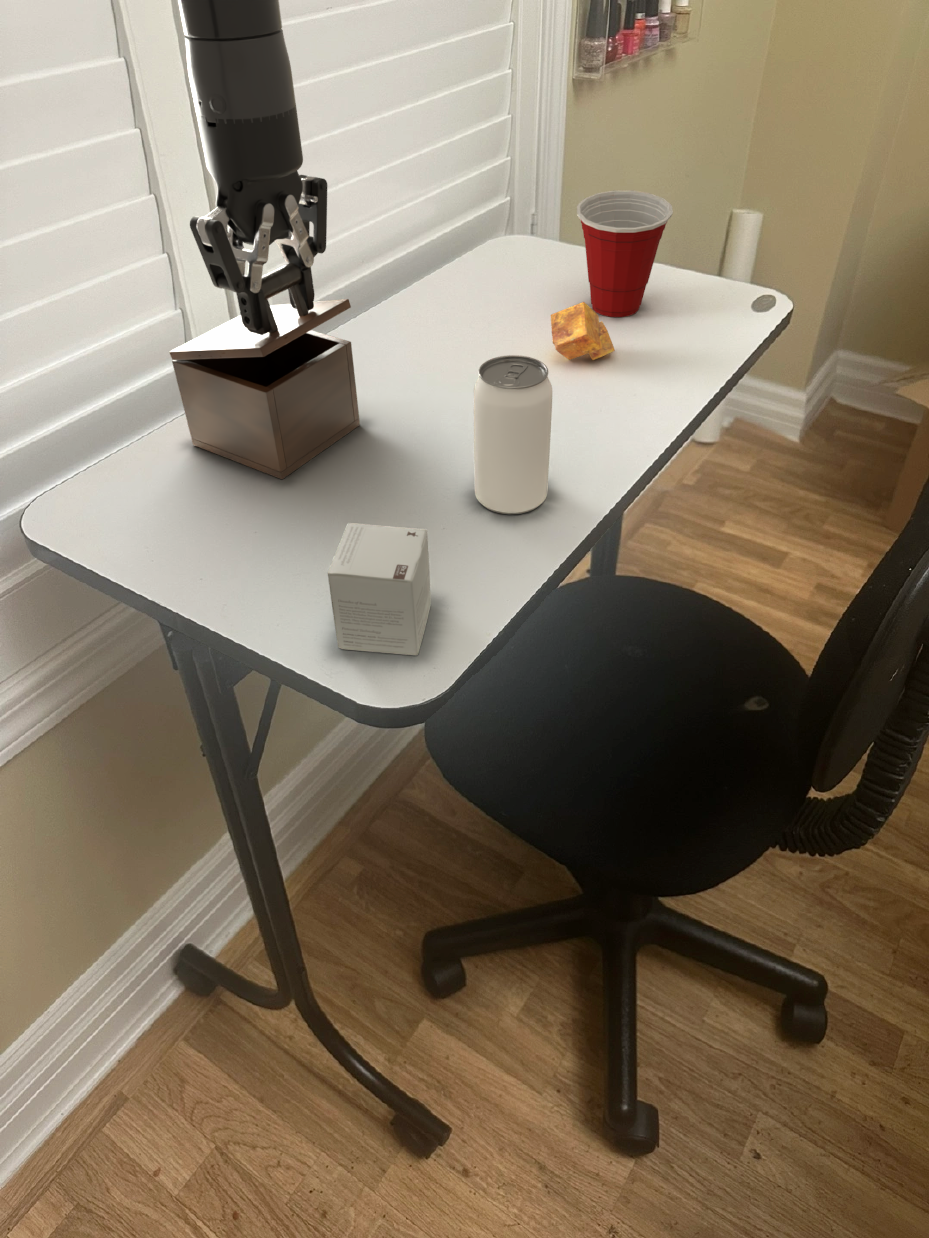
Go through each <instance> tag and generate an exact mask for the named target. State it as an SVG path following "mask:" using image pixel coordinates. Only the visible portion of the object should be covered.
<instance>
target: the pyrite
mask: <svg viewBox="0 0 929 1238" xmlns="http://www.w3.org/2000/svg"><path fill="white" fill-rule="evenodd" d="M550 326H551V336H552V337H551V338H552V339H551V340H552V344H553V346H554V349H555V351H557V352H558V353H559V354H560V355H562V356H563V357H564V358H565V359H567V360H568V361H570V360H573V359H577V358H579V357H582V356H585V355H589V357H590V359H591V361H595V360H597V359H600V358H602V357H603V356H604V357H605V356H606V355H609V354H611V353H613V352H615V351H616V349H615V346H614V343H613V342H612V339H611V336H610V333H609V331H608V328H607V327H606V325H605V323H604V322H603V320H601V321H600V317H599V315H598V313H596V312H595V311H594V310H593V309H592V307H590V306H589V305H588V304H587V303H586V302H585V301H582V302H580V303H577V304H574V305H572V306H569V307H566V308H564V309H562V310H559V311H556V312H554V313H552V314H550Z"/></svg>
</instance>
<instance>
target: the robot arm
mask: <svg viewBox="0 0 929 1238" xmlns="http://www.w3.org/2000/svg"><path fill="white" fill-rule="evenodd" d="M177 3H178V9H179V14H180V19H181V24H182V30H183V34H184V41H185V51H186V63H187V64H186V65H187V74H188V79H189V84H190V89H191V94H192V98H193V99H192V100H193V105H194V111H195V115H196V120H197V125H198V131H199V135H200V141H201V145H202V150H203V155H204V161H205V166H206V169H207V171H208V173H209V174H210V175H211V177H212V179H213V180H214V182H215V184H216V199H215V208H214V209H213V210H211V211H210V212H208V213H207V214H206V215H204V216H198V215H194V216H192V217H191V218H190V221H189V228H190V230H191V233H192V236H193V238H194V240H195V243H196V246H197V247H198V250H199V252H200V256H201V258H202V260H203V263H204V266H205V267H206V270H207V272H208V275H209V278H210V280H211V282H212V285H213V286H214V287H215V288H218V289H221V290H222V289H223V290H227V291H230V292H233V293H235V294H236V297H237V303H238V309H239V313H240V315H241V319H242V323H243V325H244V327H245V328H247V329H248V331H250V332H252V333H256V334H259V335H264V334H266V333H268V332H270V324H269V318H268V313H267V307H266V301H265V295H264V291H263V290H260V289H261V283H262V276H263V269H264V265H265V264H267V263H268V261H269V252H270V245H272V244H273V243H275V244H276V245H277V247H278V250H279V252H280V253H281V256H282V258H283V259H284V262H285V263H286V264H289V263H294V264H295V265H297V266H298V267H299V269H300V271H301V274H302V280H301V282H300V283H299V285H300V288H301V291H302V294H303V297H304V300H305V303H306V306H307V309H308V311H309V310H311V309H313V307H314V303H313V302H315V296H316V295H315V289H314V288H315V286H314V281H313V280H314V279H313V272H312V266H313V264H314V262H315V257H316V256H317V255H318V254H324V253H325V252H326V249H327V235H328V234H327V229H328V228H327V227H328V182H327V180H326V179H325V178H322V177H317V176H312V175H306V174H299V171H298V170H300V168H301V167H302V166H303V163H304V155H303V147H302V140H301V131H300V124H299V117H298V109H297V101H296V95H295V87H294V78H293V71H292V66H291V61H290V56H289V53H288V48H287V44H286V41H285V34H284V30H283V29H282V28H283V23H282V13H281V7H280V0H177ZM311 223H312V225H313V226H312V229H313V230H312V232H313V233H312V235H313V236H311V235H310V231H311V229H310V226H311V225H310V224H311ZM244 244H246V245H249V246H253V248H252V250H250V249H246V248H245V247H244ZM246 263H247V274H245V273H246ZM287 290H288V297H289V304H291V306H292V307H293V308H294V309H296V306H295V303H294V300H293V297H292V294H291V291H290V288H289V289H287Z"/></svg>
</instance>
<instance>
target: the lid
mask: <svg viewBox="0 0 929 1238" xmlns="http://www.w3.org/2000/svg"><path fill="white" fill-rule="evenodd" d="M301 280H302V274H301V271H300V269H299V267H298V266H297V265H295V264H294V263H286V264H284V265H282V266H280V267H278V268H277V269H274V270H272V271H269V272H268V273H265V274H263V275H262V283H261V289H260V290H263V291H264V295H265V301H266V307H267V313H268V318H269V324H270V332H268V333H266V334H264V335H259V334H256V333H252V332H250V331H248V329H247V328H245V327H244V325H243V323H242V319H241V314H240V315H238V316H236V317H234V318H232V319H230V320H228V321H226V322H224V323H222V324H220V325H218V326H216V327H214V328H212V329H211V330H209V331H207V332H205V333H203V334H201V335H199V336H197V337H194V338H193V339H191V340H189V341H187V342H185V343H183V344H182V345H179V346H177V347H175V348H173V349H171V350H170V351H169V352H168V353H169V355H170V358H171V360H172V361H173V360H188V359H216V358H243V357H264V356H266V355H268V354H270V353H271V352H273V351H275V350H277V349H278V348H280V347H282V346H284V345H286V344H287V343H289V342H291V341H293V340H294V339H296V338H298V337H300V336H301V335H303V334H305V333H307V332H308V331H310V330H312V331H313V330H314V329H315V328H318V327H319V326H321V325H323V324H324V323H326V322H327V321H330V320H331V319H334V318H335V317H337V316H338V315H339V316H340V314H342V313H344V312H345V311H347V310H349V309H351V308H352V305H351V301H350V299H349V298H343V299H342V298H341V299H330V300H329V299H328V300H318V301H313V303H314V307H313V309H311V310H309V311H308V309H307V306H306V303H305V300H304V297H303V294H302V291H301V288H300V285H299V283H300V282H301ZM289 288H290V291H291V294H292V297H293V300H294V303H295V306H296V309H294V308H293V307H292V306H291V304H290V303H284V304H272V305H271V304H270V302H269V299H271V298H274V297H275V296H278V295H279V294H281V293H283V292H285V291H287V290H288V289H289Z"/></svg>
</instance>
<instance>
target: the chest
mask: <svg viewBox="0 0 929 1238" xmlns="http://www.w3.org/2000/svg"><path fill="white" fill-rule="evenodd" d="M171 363H172V367H173V371H174V375H175V379H176V383H177V387H178V391H179V395H180V399H181V402H182V403H181V404H182V408H183V411H184V416H185V419H186V423H187V427H188V430H189V435H190V439H191V443H192V445H193V446H194V447H196V448H199V449H202V450H204V451H207V452H210V453H212V454H215V455H218V456H220V457H223V458H225V459H228V460H231V461H232V462H233V461H234V462H236V463H239V464H241V465H243V466H246V467H248V468H251V469H254V470H257V471H259V472H261V473H264V474H266V475H269V476H272V477H275V478H277V479H280V480H284V479H285V478H287V477H288V476H289V475H291V474H292V473H294V472H295V471H297V470H298V469H299V468H302V466H304V465H305V464H307V463H308V462H309V461H311V460H313V459H314V458H315V457H317V456H318V455H319V454H321V453H323V452H324V451H326V450H327V449H328V448H330V447H331V446H333V445H334V444H335V443H337V442H338V441H340V440H341V439H342V438H344V437H345V436H347V435H348V434H349V433H351V432H352V431H354V430H355V429H357V428H358V427H360V426H361V420H360V411H359V401H358V394H357V385H356V383H357V382H356V374H355V366H354V356H353V347H352V341H350V340H346V339H343V338H339V337H336V336H332V335H330V334H325V333H322V332H318V331H315V330H313V329H312V330H310V331H308V332H307V333H305V334H303V335H301V336H300V337H298V338H296V339H294V340H293V341H291V342H289V343H287V344H286V345H284V346H282V347H280V348H278V349H277V350H275V351H273V352H271V353H270V354H268V355H266V356H264V357H243V358H216V359H188V360H172V361H171Z"/></svg>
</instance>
